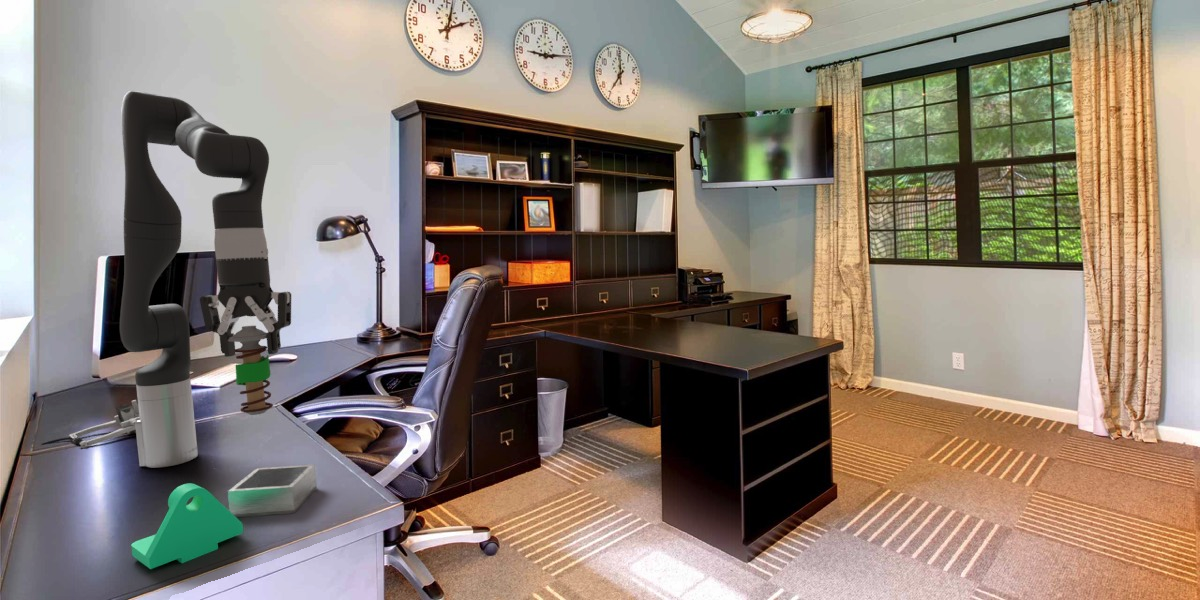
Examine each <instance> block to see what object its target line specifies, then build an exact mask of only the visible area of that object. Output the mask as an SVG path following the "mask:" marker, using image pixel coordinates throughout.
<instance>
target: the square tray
mask: <svg viewBox="0 0 1200 600" xmlns="http://www.w3.org/2000/svg"><path fill="white" fill-rule="evenodd" d="M316 473H317V471H316V464H304V465H303V464H302V465H290V466H285V465H284V466H274V467H258V468H257V467H256V468H255V469H254V470H253V471H252V472H250V473H249V474H248V475H246V476H245V477H244V478H243V479H241V480H239V482H238V483H236V484H235V485H234V486H232V487H231V488H230V489H228V490H227V498H228V500H227V501H228V510H229V511H230V512H231V513H232V514H233V515H234V516H235V517H236V518H245V517H257V516H270V515H272V516H273V515H285V514H287V515H288V514H295V513H296V512H297V511H298V510H299V509H300V507H302V505H303V504H305V502H306V501H307V500H308V498H310V496H312V494H313V493H314V492H315V491H316V490H317V489H318V485H317V484H318V483H317V474H316Z"/></svg>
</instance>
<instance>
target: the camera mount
mask: <svg viewBox="0 0 1200 600" xmlns="http://www.w3.org/2000/svg"><path fill="white" fill-rule="evenodd" d="M190 499H192V501H191V502H189V504H188V501H189V500H190ZM167 506H168V510H167V513H166V515H165V517H164V518H163V521H162V523H161V524H160V526H159V528H158V530H157V532H156V533H155V534H152V535H150V536H147V537H144V538H141V539H138V540H136V541H134V542H132V544H131V545H130V546H131V554H132V557H133V558H135V559H136V560H137V561H138V562H140V563H141V564H142V565H144V566H145V567H147V568H148V569H150V570H153V569H155V568H158V567H160V566H163V565H165V564H168V563H170V562H172V561H175V560H176V561H178V562H179V563H181V564H184V563H186V562H189V561H191V560H193V559H196V558H200V557H201V556H204V555H207V554H209V553H211V552H214V551H216V550H219V544H218V543H222V542H224V541H227V540H229V539H231V538H233V537H237V536H239V535H242V534H244V525H243V522H242V521H241V520H239V518H238V517H235V516H234V515H233V514H232V513H231V512H230V511H229V508H227V507H226V506H225V505H224V504H222V503H221V502H220V501H219V500H218V499H217V497H215V496H214V494H212V493H211V492H210V491H208V490H207V489H205V488H204V487H201V486H200V485H197V484H195V483H191V482H189V483H184V484H181V485H179V486H177V487H175V488H174V490H173V491H172V492H171V493H170V495H169V497H168V499H167Z"/></svg>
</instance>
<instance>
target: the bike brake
mask: <svg viewBox="0 0 1200 600" xmlns="http://www.w3.org/2000/svg"><path fill="white" fill-rule="evenodd" d="M115 410H116V414H117V415H115V416H114V420H111V421H108V422H104V423H102V424H97V425H93V426H91V427H87V428H85V429H81V430H79V431H76V432H73V433H70V434H69V435H68V436H67V437H60V438H56V439H52V440H49V441H48V440H47V441H44V442H41V445H42V446H44V445H49V444H52V443H56V442H57V443H58V442H60V441H69V440H70V441H71V442H72V443H74V444H76V445H80V448H82V449H85V448H88V447H89V446H92V445H95V444H100V443H103V442H105V441H108V440H111V439H114V438H116V437H119V436H121V435H124V434H126V435H132V434H136V427H135V422H136V421H138V420H140V415H139V406H138V400H137V399H134V400H131V406H130V405H129V403H126V404H123V405H120V406H115ZM117 426H120V428H118V429H117V430H114V431H112V432H110V433H107V434H104V435H101V436H98V437H95V438H92V439H89V440H83V439H81V438H79V437H82V436H85V435H87V434H91V433H93V432H98V431H100V430H105V429H109V428H114V427H117Z"/></svg>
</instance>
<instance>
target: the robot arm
mask: <svg viewBox="0 0 1200 600" xmlns="http://www.w3.org/2000/svg"><path fill="white" fill-rule="evenodd" d="M120 108H121V112H120V113H121V115H120V116H121V117H120V120H121V121H120V122H121V133H122V134H121V135H122V136H121V137H122V147H123V159H124V205H123V206H124V207H123V208H124V209H123V248H124V249H123V251H124V253H123V254H124V258H123V259H124V261H123V262H124V266H123V267H124V270H123V271H124V272H123V273H124V275H123V287H122V296H121V305H120V314H119V315H120V316H119V335H120V340H121V343H122V344H123V347H124V348H125V349H126V350H127V351H129V352H131V353H143V352H149V351H156V350H162V351H161V354H160V355H159V356H158V357H157V358H156V359H154V360H153V361H151V362H150V363H149V364H147V365H145V366H142V367H141V368H139V369H138V370H136V372H135V386H136V397H137V404H138V407H139V415H140V420H138V421H136V422H135V427H136V433H135V434H136V444H137V453H138V461H139V462H138V463H139V467H147V468H151V469H152V468H154V469H155V468H166V467H167V468H168V467H171V466H177V465H180V464H185V463H187V462H190V461H191V460H193V459H196V458H197V457H198V455H199V454H198V443H197V432H196V421H195V412H194V401H193V393H192V392H193V391H192V384H191V383H192V382H191V372H190V371H191V365H192V362H191V361H192V360H191V342H190V341H191V340H190V339H191V336H190V335H191V334H190V324H189V322H190V321H189V318H188V315H187V312H186V311H185V309H184V308H183V307H182V306H181V305H179V304H177V303H165V304H156V305H154V304H153V305H150V300H151V295H152V291H153V289H154V286H155V284H156V282H157V281H158V279H159V278H160V276H161V275H162V273H163V272H164V270H166V268H168V266H169V265H170V263H171V262H172V261H173V259H174V258H175V256H177V255H176V254H177V253H178V251H179V249H180V247H181V244H182V243H181V242H182V224H183V223H182V221H183V219H182V218H183V217H182V211H181V209H180V207H179V205H178V203H177V202H176V200H175V199H174V197H173V196H172V195H171V193H170V192H169V190H168V189H167V188H166V186H165V185H164V183H163V182H162V180H161V179H160V178H159V176H158V174H157V172H156V170H155V169H154V166H153V164H152V161H151V158H150V154H149V146H148V145H149V144H155V145H164V146H172V147H174V146H178V148H179V149H180V150H181V152H182V153H184V154H185V155H186V156H188V157H190V158H191V159H192V160H194V162H195V166H196V167H197V169H198V171H199V172H200V173H201V174H203V175H205V176H209V177H211V178H212V177H213V178H221V179H222V178H224V179H241V184H240V186H239V188H238V189H237V190H234V191H226V192H221V193H217V194H215V195H214V196H213V198H212V201H211V203H212V204H211V205H212V206H211V207H212V215H213V216H212V217H213V223H214V224H213V225H214V242H213V243H214V251H215V260H216V261H215V263H216V270H217V271H216V272H217V282H218V287H219V291H218V294H217V295H212V294H210V295H204V296H200V297H199V303H200V309H201V313H202V318H203V323H204V327H205V330H206V331H207V332H209V333H211V332H213V333H215V334H217V335H218V336H219V343H220V351H221V353H222V354H224V357H229V358H230V357H232V356H235V355H236V354H237V353H236V352H235V349H236V345H235V344H236V342H232V341H228V339H229V338H230V337H233V335H234V334H235V333H234V332H233V330H234V328H235V325H236V323H237V322H238V321H239V319H240V318H242V317H246V316H247V317H251V318H252V317H256V318H257V320H258V321H259V322H261V323H262V325H263V326H264V328H265V329H266V331H267V332H266V337H267V338H266V346H267V355H275V354H277V353H278V352H279V350H281V335H280V334H281V333H280V331H281V330H282V329H284V328H286V327H290V325H292V292H290V291H281V292H280V291H279V292H278V291H274V290H273V289H272V287H271V276H270V275H271V274H270V273H271V272H270V265H269V249H268V244H267V239H266V235H265V229H264V220H263V219H264V218H263V217H264V216H263V209H262V208H263V207H262V203H263V195H264V189H265V185H266V178H267V175H268V171H269V165H270V155H269V152H268V149H267V147H266V145H265V144H264V143H263V142H262V141H261V140H260V139H258V138H256V137H252V136H248V135H247V136H246V135H238V134H237V135H236V134H230V133H229V132H227V131H226V130H225V129H224V128H222V127H220V126H219V125H218V126H217V124H214V123H211V122H210V121H207V120H205V118H204V117H203V116H202V115H201V114H200V113H199V112H198V111H197V110H196V109H195V108H194V107H193V106H192V105H190V104H189V103H188V102H186V101H184V100H182V99H180V98H178V97H177V98H176V97H172V96H169V95H168V96H166V95H160V94H155V93H148V92H145V91H144V92H143V91H137V90H129V91H127V92H126V93H125V95H124V96H123V98H122V102H121V107H120ZM273 300H274V302H275V305H277V318H276V315H275V313H274V312H273V309H271V307H270V306H269V305H270V303H271V302H272V301H273ZM220 303H221V305H222V306H223V307H224V308H225V309H224V312H223V313H222V316H221V317H220V315H219V310H218V307H219V306H220ZM232 332H233V333H232Z"/></svg>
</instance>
